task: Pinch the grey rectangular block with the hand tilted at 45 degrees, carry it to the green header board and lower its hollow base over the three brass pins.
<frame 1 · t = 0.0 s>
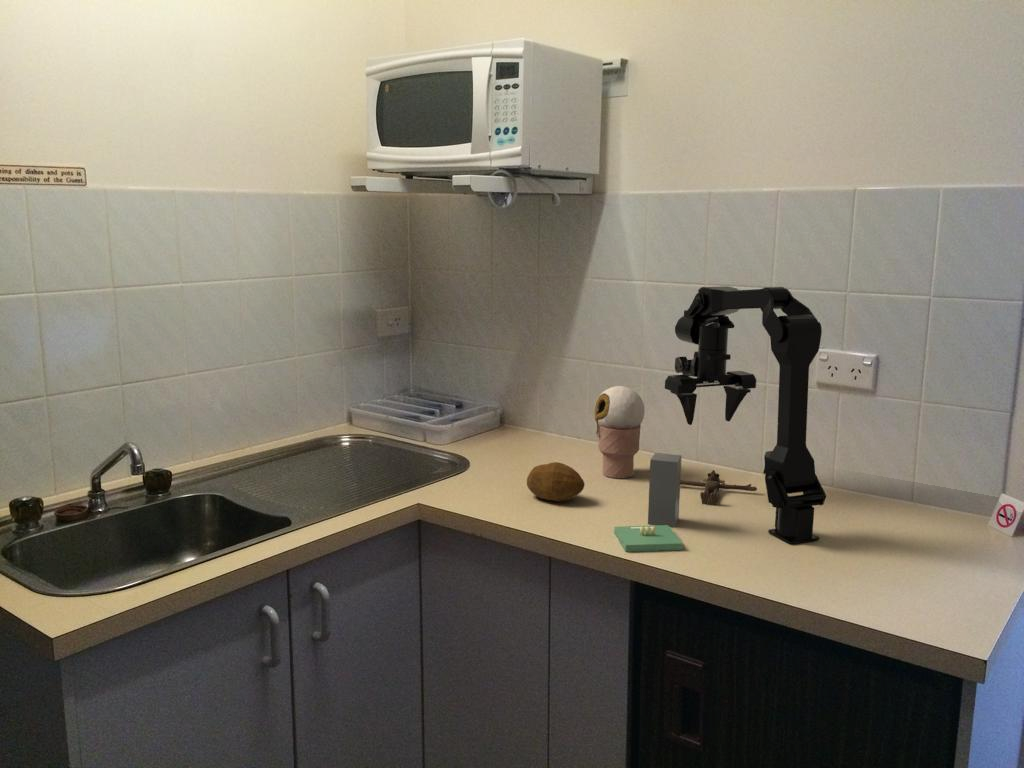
hand: (708, 422, 180), 15 cm above the worktop, tool pointing down, fingers open, 9 cm apart
ice cream cone: (617, 475, 194), on the worktop
header board: (647, 541, 154), on the worktop
potato: (555, 500, 177), on the worktop
grey rectangular block: (663, 521, 164), on the worktop
brown clay figure: (711, 496, 181), on the worktop
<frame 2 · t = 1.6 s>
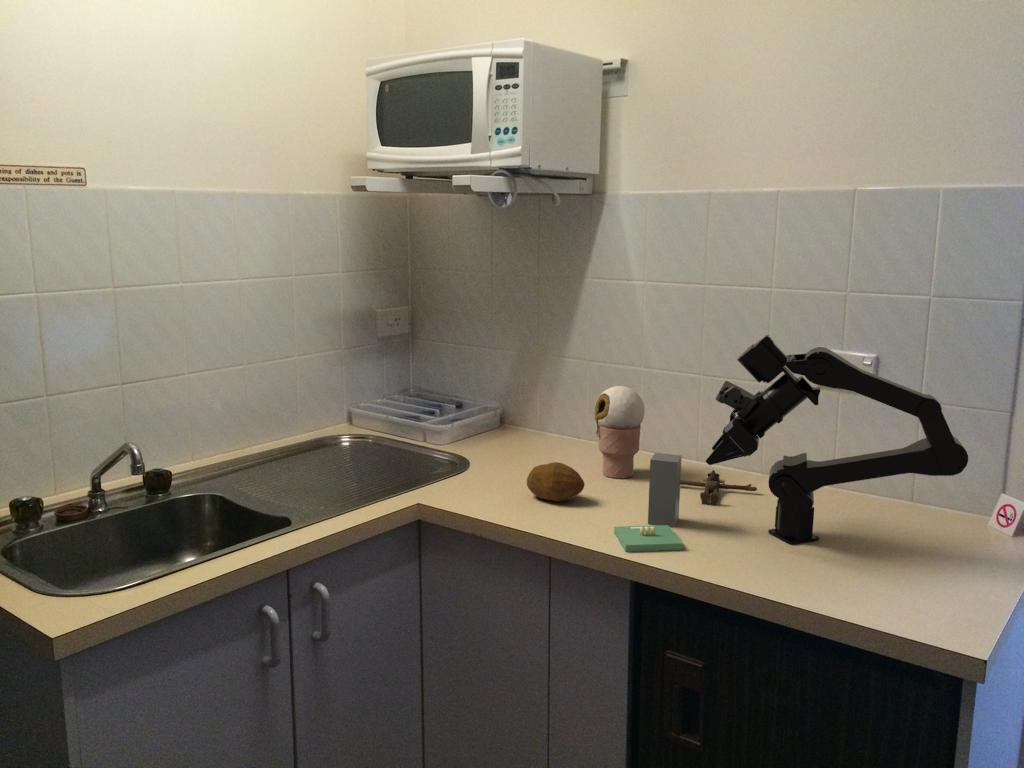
hand: (710, 456, 159), 13 cm above the worktop, tool tilted 45°, fingers open, 9 cm apart
nothing on the worktop moved.
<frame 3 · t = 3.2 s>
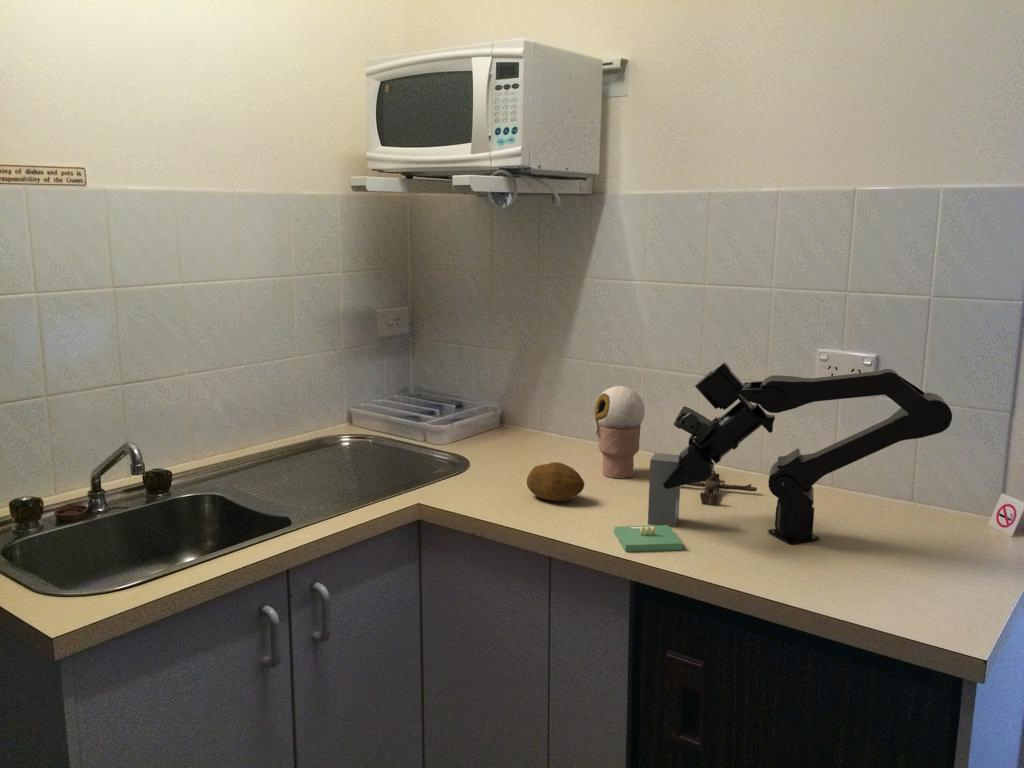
hand: (668, 479, 162), 8 cm above the worktop, tool tilted 45°, fingers open, 9 cm apart
nothing on the worktop moved.
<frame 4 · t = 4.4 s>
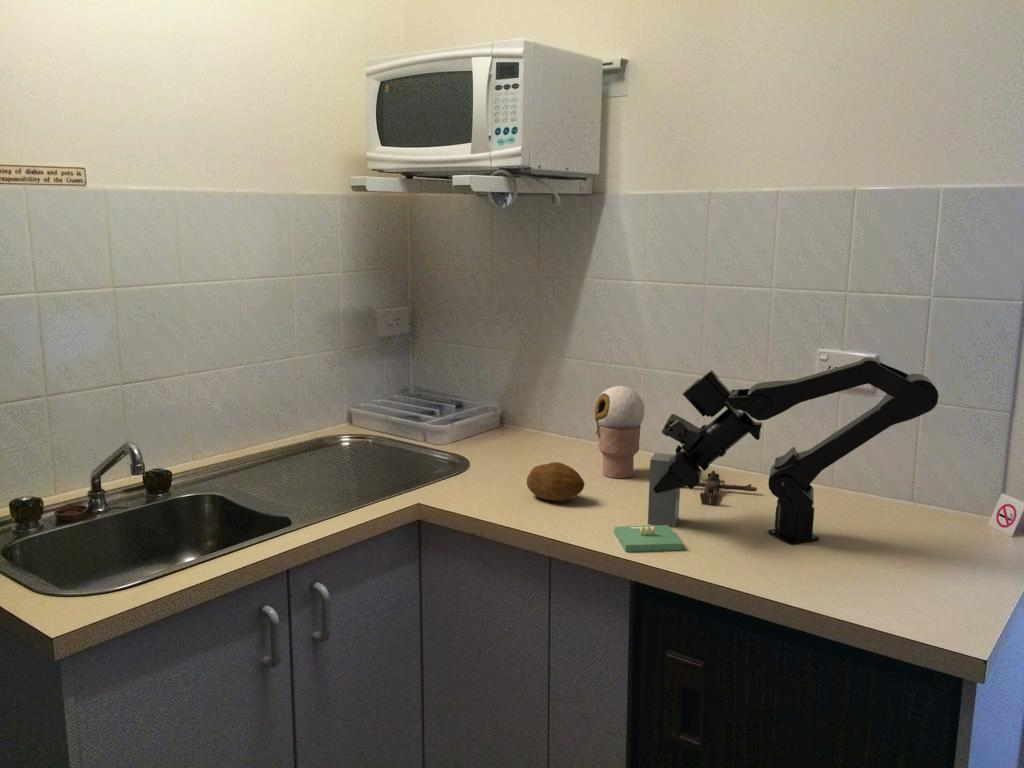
hand: (657, 487, 163), 7 cm above the worktop, tool tilted 45°, fingers closed on grey rectangular block, 5 cm apart
grey rectangular block: (663, 521, 164), on the worktop, touching gripper
everything else where it was.
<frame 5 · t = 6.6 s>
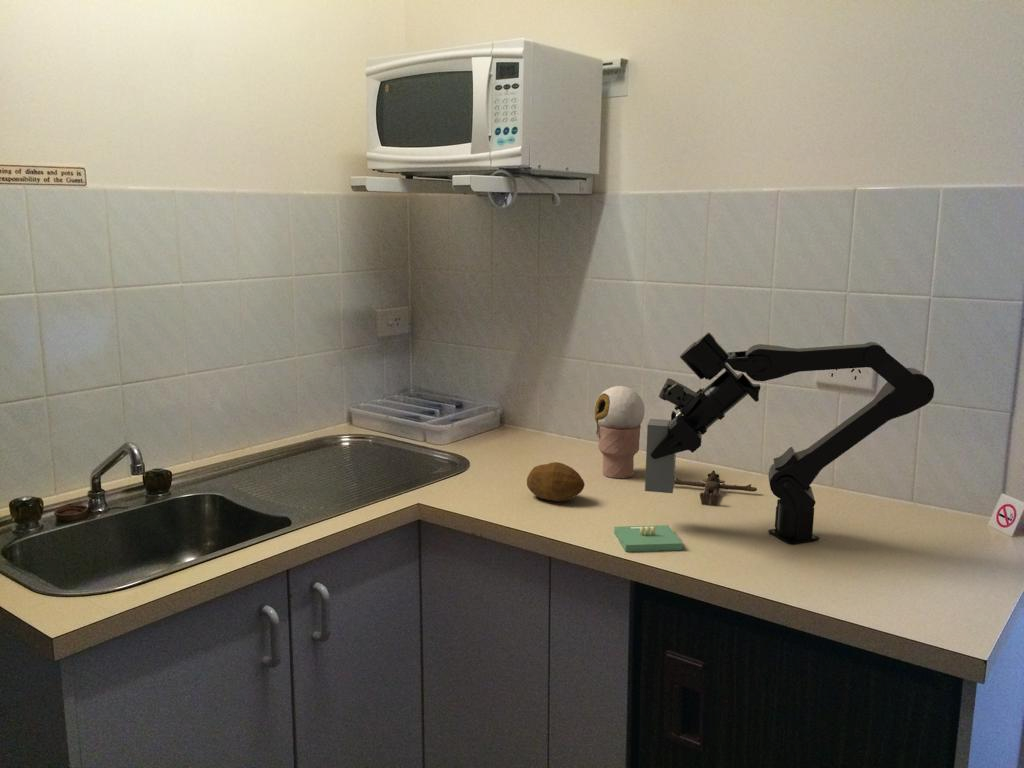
hand: (653, 453, 160), 14 cm above the worktop, tool tilted 45°, fingers closed on grey rectangular block, 5 cm apart
grey rectangular block: (659, 488, 161), point 7 cm above the worktop, touching gripper
everything else where it was.
when the fingers open (8 cm above the worktop, at t = 9.0 s): grey rectangular block stays where it is, resting on header board.
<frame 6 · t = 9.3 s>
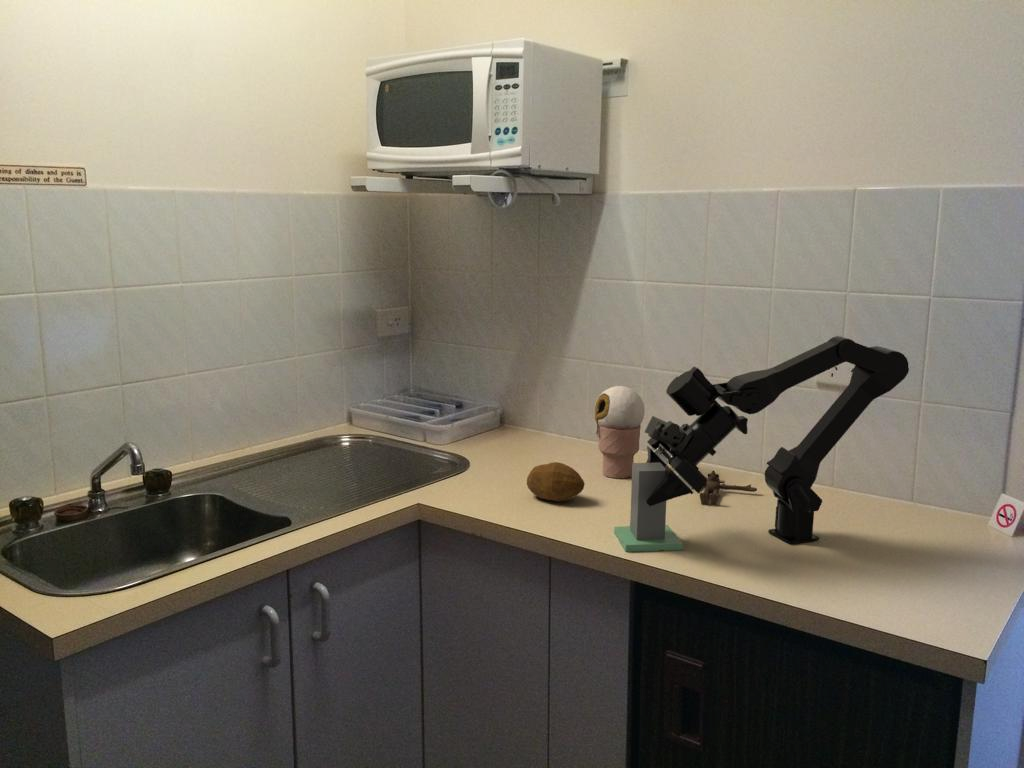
hand: (641, 495, 152), 8 cm above the worktop, tool tilted 45°, fingers open, 9 cm apart
grey rectangular block: (647, 534, 154), point 1 cm above the worktop, touching header board
everything else where it was.
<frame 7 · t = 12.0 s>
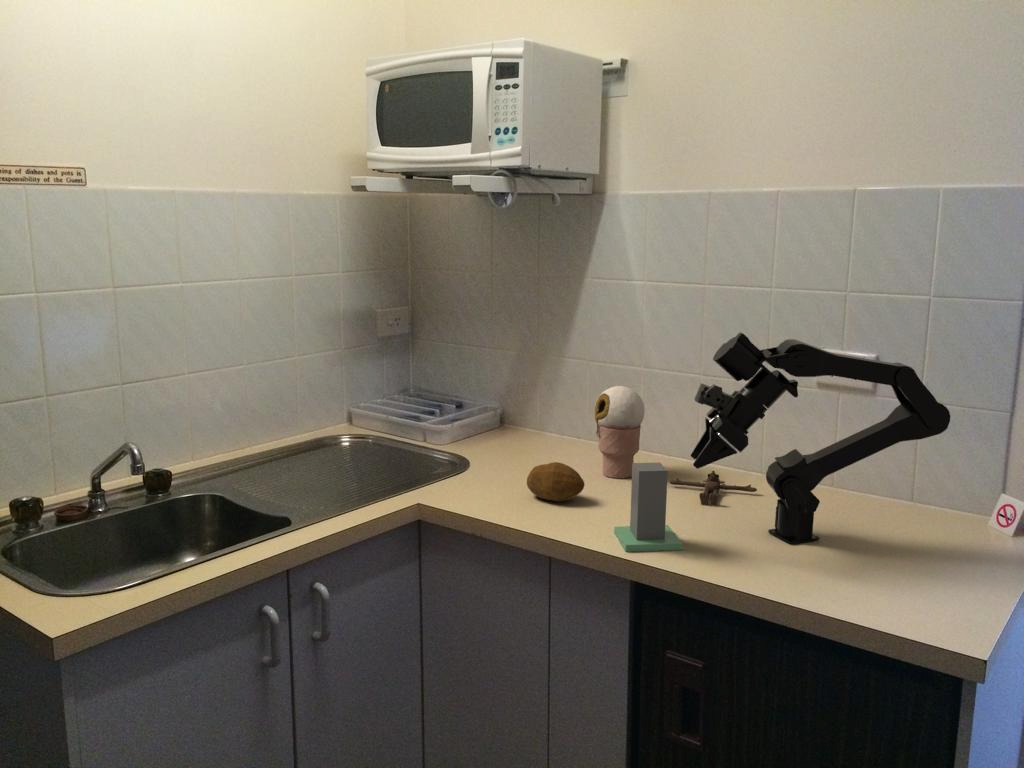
hand: (693, 462, 155), 14 cm above the worktop, tool tilted 40°, fingers open, 9 cm apart
nothing on the worktop moved.
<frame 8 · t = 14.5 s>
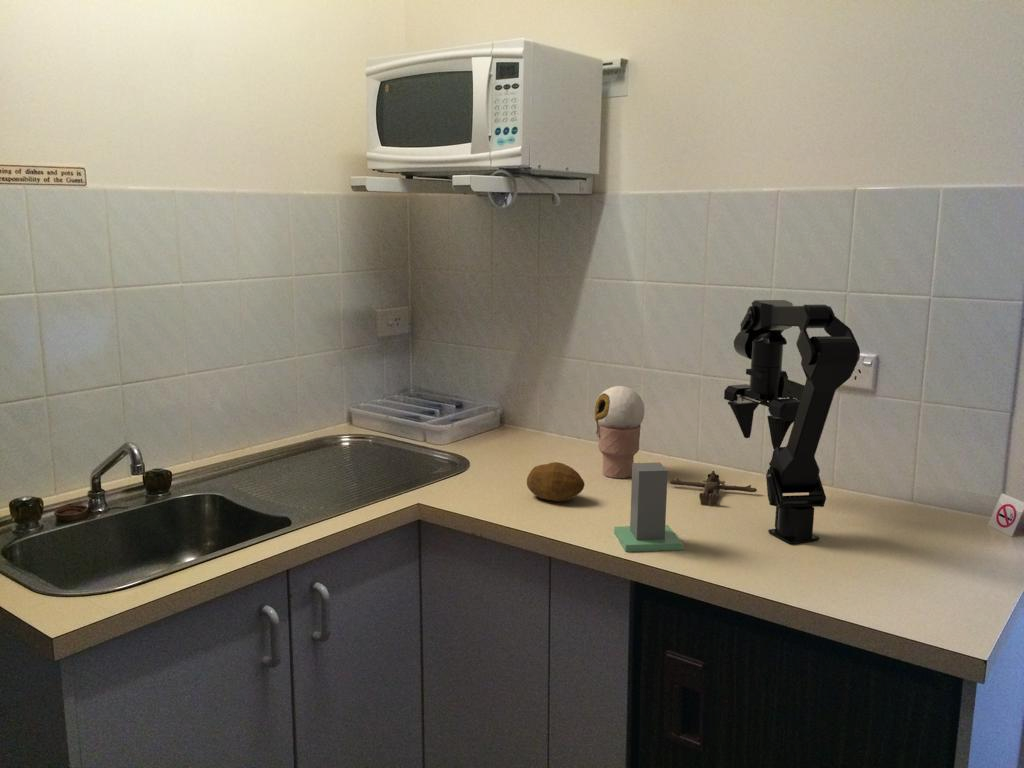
hand: (761, 443, 170), 13 cm above the worktop, tool pointing down, fingers open, 9 cm apart
nothing on the worktop moved.
at the end: grey rectangular block 0.1 cm off-centre on the header board, point 1.2 cm above the header board's base; grey rectangular block tilted 0°; the gripper is holding nothing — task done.
